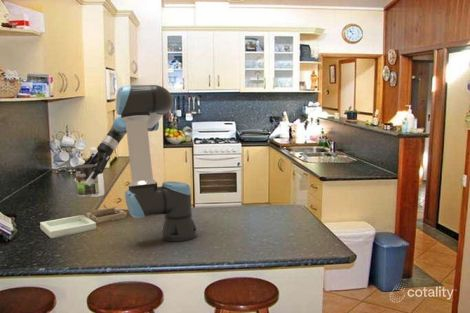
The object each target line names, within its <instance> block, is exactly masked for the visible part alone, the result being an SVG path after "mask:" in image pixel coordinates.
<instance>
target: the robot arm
mask: <svg viewBox="0 0 470 313" xmlns="http://www.w3.org/2000/svg"><path fill="white" fill-rule="evenodd" d="M115 100H116V101H115V109H116V115H117V117H115V118H114V120H113V122H112V125H111V127H110V129H109V131H108V132H107V134H106V135H105V136H104V137H103V138H102V140H101V143H99V145H98V146H96V148H97V153H96V154H93V153H92V154H91V153H90V155H89V157H88V158H87V159H86V161H85V162H84V163H82V165H85V164H96V168H95V170H93V171H94V172H92V174H91V175H90V176H89V178H88V179H87V181H86V182H85V183H86V184H87V185H89V186H90V185H91V184H92V182H93V181H94V180H95V178H96V177H97V175H99V174H102V173H103V174H104V170H105V169H106V166H107V164H108V162H109V161H110V159H111V156H112V154H113V153H114V151H115V150H116V149H117V147H118V145H119V144H120V142H121V141H122V140H123V139H124V137H125V135H126V139H127V147H128V158H129V168H130V175H131V178H130V179H131V182H130V183H129V184H128V189H126V190H125V192H124V196H125V204H126V206H127V210H128V213H129V215H130V216H131V217H132V218H134V219H139V218H143V219H144V218H149V217H154V216H162V215H164V218H163V219H164V220H163V223H162V228H161V231H160V234H161V235H160V237H161V239H162V240H163V241H167V242H183V241H189V240H192V239H195V238H196V237H197V236H198V230H197V229H198V228H197V226H196V225H195V222H194V219H193V209H192V191H191V186H190V185H189V184H188V183H186V182H182V181H164V182H162V184H161V186H158V182H157V181H156V180H155V179H154V176H153V165H152V158H151V149H150V148H151V147H150V140H149V139H150V138H149V132H153V131H154V132H155V131H158V130H159V128H160V127H159V126H160V120H161V118H162V117H163V116H164V115H166V114H168V113H169V112H170V111H171V110H172V108H173V106H174V99H173V96H172V93H171V92H170V91H169V90H168V89H167V88H165V87H164V86H161V85H158V84H157V85H156V84H150V85H149V84H143V85H141V84H137V85H136V84H133V85H132V84H129V85H121V86H120V87H119V88H118V90H117V93H116V99H115ZM73 182H75V184H77V182H76V177H75V178H74V180H73Z"/></svg>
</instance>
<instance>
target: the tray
mask: <svg viewBox="0 0 470 313" xmlns="http://www.w3.org/2000/svg"><path fill="white" fill-rule="evenodd" d="M39 224H40V225H39V228H40V230H41V231H42V232H43V233H45V235H46V236H48V238H50V239H51V240H52V239H55V238H61V237H66V236H71V235H75V234H76V235H77V234H81V233H86V232H91V231H96V229H97V223H95V222H94V221H92V220H90V219H89V218H87V217H86V216H85V215H84V214H79V215H73V216H69V217H63V218H57V219H52V220H46V221H40V222H39Z"/></svg>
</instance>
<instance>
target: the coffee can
mask: <svg viewBox="0 0 470 313" xmlns="http://www.w3.org/2000/svg"><path fill="white" fill-rule="evenodd" d="M95 168H96V164H85V165H83V164H80V165H76V166H74V171H75V178H76V182H77V183H76V182H75V183H76V190H77V191H76V192H77V196H78V197H82V198H84V197H91V196H94V195H97V194H99V185H98V175H97V177H96V178H95V180H94V181H93V182H92V184H91V185H90V186H89V185H87V184H86V183H85V182H86V181H87V179H88V178H89V176H90V175H91V174H92V172H94V171H93V170H95Z"/></svg>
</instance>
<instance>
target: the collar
mask: <svg viewBox="0 0 470 313" xmlns="http://www.w3.org/2000/svg"><path fill="white" fill-rule="evenodd" d="M113 212H115V213H113ZM108 213H110V214H108ZM116 213H117V214H116ZM85 214H86V217H87V218H89V219H90V220H92V221H94V222H95V223H96V224H100V223H99V222H101V223H104V222H103V221H107V222H109V221H108V220H112V219H117V218H121V217H127V212H126V211H123V210H122V209H120V208H117V207H116V206H115V207H109V208H104V209H98V210H92V211H87V212H85ZM102 214H105V216H103V215H102ZM98 215H99V216H100V217H99V216H98ZM127 218H128V217H127ZM117 220H118V219H117ZM112 221H113V220H112Z"/></svg>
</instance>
